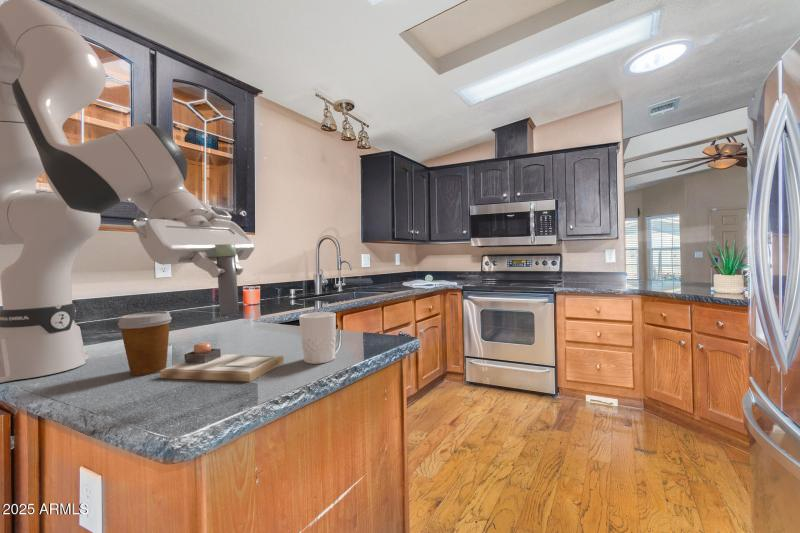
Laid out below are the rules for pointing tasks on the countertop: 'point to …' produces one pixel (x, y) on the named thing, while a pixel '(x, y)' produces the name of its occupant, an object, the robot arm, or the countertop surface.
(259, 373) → the wooden tray
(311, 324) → the white cup
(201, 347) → the button
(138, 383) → the countertop surface
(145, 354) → the disposable coffee cup
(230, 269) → the marker
